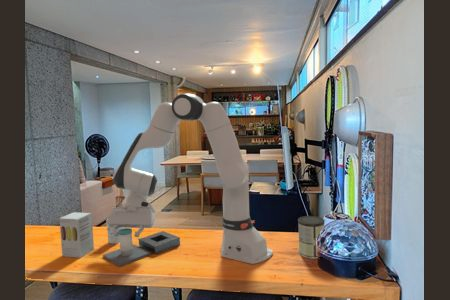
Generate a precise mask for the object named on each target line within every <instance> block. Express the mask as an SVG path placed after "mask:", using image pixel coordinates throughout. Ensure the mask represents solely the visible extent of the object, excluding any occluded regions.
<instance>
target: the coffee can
mask: <svg viewBox="0 0 450 300" xmlns="http://www.w3.org/2000/svg"><path fill="white" fill-rule="evenodd" d="M297 222H298V227H297V228H298V255H300V256H301V257H303V258H306V259H310V260H311V259H312V260H314V259H315V260H316V259H317V258H318V255H317V250H316V238H317V237H318V236H319V233H320V231H321V230H322V228H323V227H324V228H325V222H326V221H325V219H324V218H323V217H321V216H315V215H305V216H300V217H298V219H297ZM318 259H319V258H318Z"/></svg>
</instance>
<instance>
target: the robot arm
mask: <svg viewBox="0 0 450 300" xmlns="http://www.w3.org/2000/svg"><path fill="white" fill-rule="evenodd" d="M181 121H189V122H193V121H200V122H201V124H202V126H203V129H204V131H205V134H206V137H207V139H208V142H209V144H210V147H211V151H212V154H213V158H214V162H215V165H216V169H217V172H218V175H219V179H220V182H221V184H222V187H223V188H222V213H223V214H222V220H221V222H222V225H221V226H222V227H223V229H222V230H223V232H222V239H221V240H222V241H221V247H220V252H221V253H220V256H221V257H223V258H227V259H231V260H235V261H238V262H242V263H246V264H250V265H254V264H255V265H256V264H260V263H262V262H264V261H267V260H268V259H269V258H271V257H272V256H273V253H274V251H273V250H272V249H271V248H268V244H267V240H266V238H265V236H263V235H262V234H261V233H260V232H259V231H258V230H257V229H256V227H255V226H254V224H255V223H256V222H255V221H256V220H255V219H254V220H252V218H251V216H250V193H249V192H250V185H249V184H250V181H249V179H250V177H249V175H250V174H249V171H250V168H249V165H248V163H247V161H246V160H245V159H244V158H243V156H242V153H241V149H240V146H239V143H238V139H237V137H236V133H235V131H234V129H233V126H232V124H231V121H230V117H229V116H228V114H227V112H226V110H225V108H224V106H223V105H222V104H221V103H220V102H218V101H209V102H207V103H206V102H205V100H204V98H202V97H200V96H199V95H197V94H193V93H187V92H186V93H181V94H178V95H176V96H175V97H174V98H173V99H172V101H171V102H168V101H164V102H161V103H160V104H159V105H157V107H156V110H155V111H154V113H153V115H152V118H151V120H150V123H149V126H148V127H147V129H145V131H144V132H139V133H138V134H137V135H136V137H135V138H134V139H133V140H134V141H133V142H132V143H131V144H130V147H129V149H128V150H127V152H126V154H125V156H124V157H123V159H122V161H121V163H120V165H119V166H118V167H117V168H116V170H115V172H114V174H113V175H112V182H113V184H114V186H115V187H116V188H117V189H122V190H128V191H129V195H128V196H127V198H126V201H125V203H124V204H125V205H124V206H115V207H113V208H112V210H111V212H110V213H109V214H110V215H108V216H109V217H108V218H107V219H108V220H107V222H106V224H107V223H108V225H109V226H110V227H113V228H114V234H113V235H114V236H118V235H119V232H118V231H117V229H118V228H119V227H126V228H136V229H138V230H137V231H135V232H134V237H135V238H139V237H140V234H141V233H143V231H144V230H145V229H151V228H152V227H154V224H155V218H156V217H155V213H156V210H155V209H156V208H155V207H154V206H153V204H151V202H148V198H149V197H151V196H152V195H153V194H155V190H156V189H155V188H156V186H157V182H158V179H157V177H156V175H155V173H154V174H153V173H151V172H148V171H145V170H141V169H137V168H135V167H132V166H131V165H132V164H133V162H134V160H135V158H136V157H137V155H138V153H140V152H141V151H142V150H145V149H146V150H147V149H160V148H164V147H167V146H168V145H170V144H171V142H172V141H173V138H174V136H175V133H176V130H177V127H178V125H179V123H180V122H181Z"/></svg>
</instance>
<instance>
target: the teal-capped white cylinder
mask: <svg viewBox="0 0 450 300" xmlns="http://www.w3.org/2000/svg"><path fill="white" fill-rule="evenodd" d="M118 232H119V239H120V242H119V249H120V252H121V256H129V255H132V254H133V229H132V228H131V227H126V228H125V229H121V230H119V231H118Z"/></svg>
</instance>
